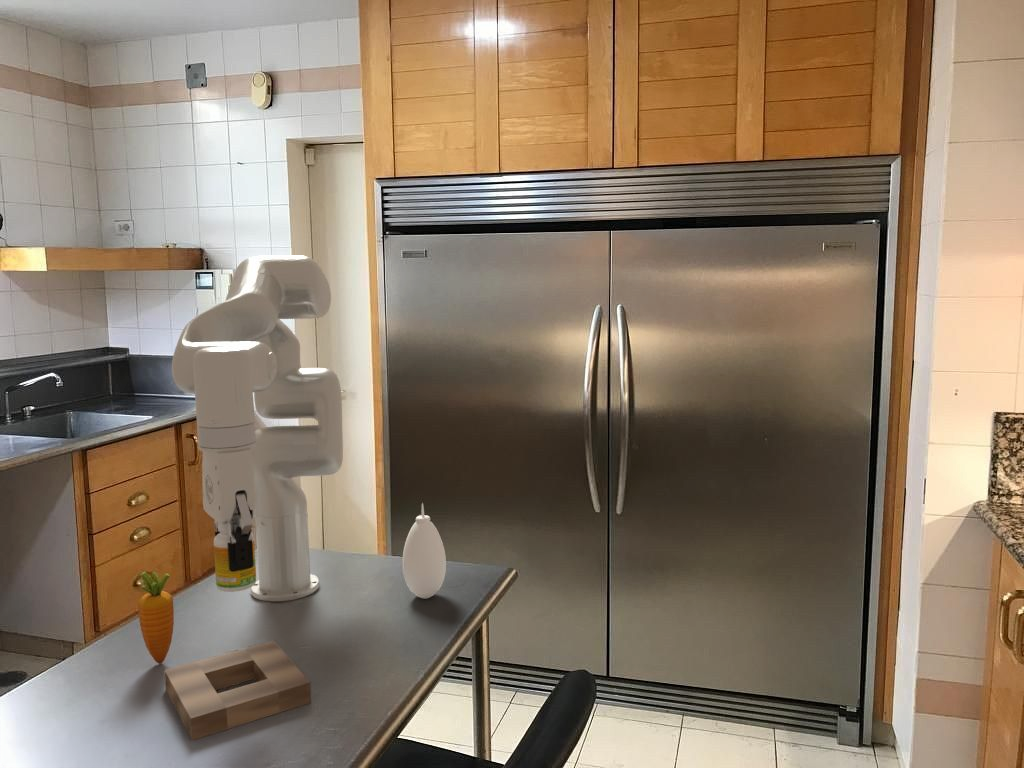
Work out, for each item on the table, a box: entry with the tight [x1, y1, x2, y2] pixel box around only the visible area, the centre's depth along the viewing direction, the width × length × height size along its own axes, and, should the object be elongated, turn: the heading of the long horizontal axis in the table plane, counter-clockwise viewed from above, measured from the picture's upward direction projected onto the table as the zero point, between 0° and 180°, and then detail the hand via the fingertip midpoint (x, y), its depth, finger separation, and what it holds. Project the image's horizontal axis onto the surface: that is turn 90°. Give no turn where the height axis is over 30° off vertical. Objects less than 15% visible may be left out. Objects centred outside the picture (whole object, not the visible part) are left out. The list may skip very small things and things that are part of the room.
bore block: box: [164, 640, 312, 741], centre depth 116 cm, size 16×16×3 cm
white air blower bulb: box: [402, 502, 447, 599], centre depth 150 cm, size 8×8×18 cm
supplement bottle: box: [213, 515, 257, 593], centre depth 115 cm, size 5×5×10 cm
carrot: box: [137, 571, 175, 665], centre depth 126 cm, size 5×5×15 cm
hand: (234, 561), depth 115 cm, fingers closed on supplement bottle, 5 cm apart
